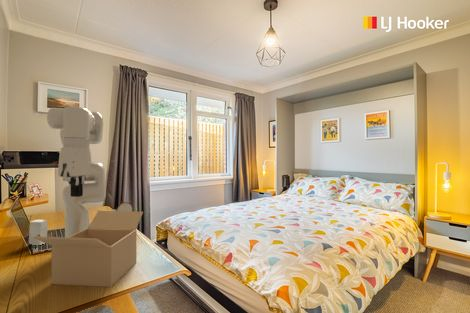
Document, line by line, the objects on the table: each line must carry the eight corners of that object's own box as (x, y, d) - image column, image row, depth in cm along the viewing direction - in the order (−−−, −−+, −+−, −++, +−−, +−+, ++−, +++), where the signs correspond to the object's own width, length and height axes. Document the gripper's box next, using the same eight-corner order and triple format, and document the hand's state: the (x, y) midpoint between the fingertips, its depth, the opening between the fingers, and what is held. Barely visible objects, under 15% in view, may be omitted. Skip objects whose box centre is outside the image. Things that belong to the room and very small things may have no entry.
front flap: (52, 244, 82) (52, 245, 82) (34, 236, 75) (33, 237, 75) (110, 246, 81) (109, 247, 81) (96, 238, 74) (95, 239, 73)
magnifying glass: (116, 241, 121) (116, 203, 121) (115, 240, 123) (115, 203, 122) (133, 237, 128) (133, 201, 127) (132, 236, 129) (132, 201, 128)
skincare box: (28, 246, 115) (28, 221, 115) (36, 242, 119) (36, 219, 119) (40, 246, 115) (40, 222, 114) (48, 243, 119) (47, 219, 119)
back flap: (98, 210, 107) (98, 211, 107) (88, 227, 100) (88, 228, 100) (142, 211, 106) (143, 212, 106) (135, 229, 99) (135, 230, 99)
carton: (51, 284, 82) (51, 244, 82) (86, 260, 100) (86, 228, 100) (111, 286, 81) (111, 246, 81) (136, 262, 99) (136, 229, 99)
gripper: (82, 143, 88) (82, 191, 88) (47, 142, 73) (47, 200, 73) (101, 144, 87) (101, 192, 88) (69, 143, 72) (70, 201, 73)
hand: (76, 196), depth 81 cm, fingers closed
